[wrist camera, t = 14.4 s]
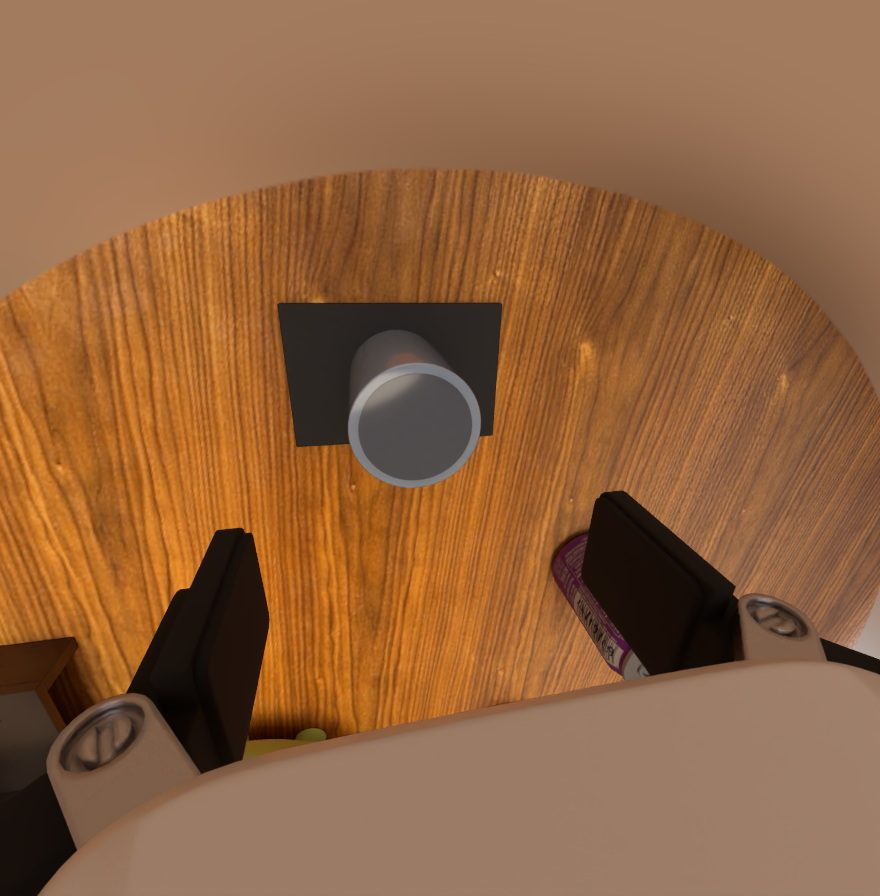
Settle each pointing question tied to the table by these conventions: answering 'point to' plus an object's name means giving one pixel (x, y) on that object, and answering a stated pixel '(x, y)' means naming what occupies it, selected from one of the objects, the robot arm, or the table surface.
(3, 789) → the shelf
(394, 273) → the table surface
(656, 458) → the table surface
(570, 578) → the beverage can
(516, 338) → the table surface
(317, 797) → the robot arm
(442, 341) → the mat
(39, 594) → the table surface
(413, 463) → the blue cup
